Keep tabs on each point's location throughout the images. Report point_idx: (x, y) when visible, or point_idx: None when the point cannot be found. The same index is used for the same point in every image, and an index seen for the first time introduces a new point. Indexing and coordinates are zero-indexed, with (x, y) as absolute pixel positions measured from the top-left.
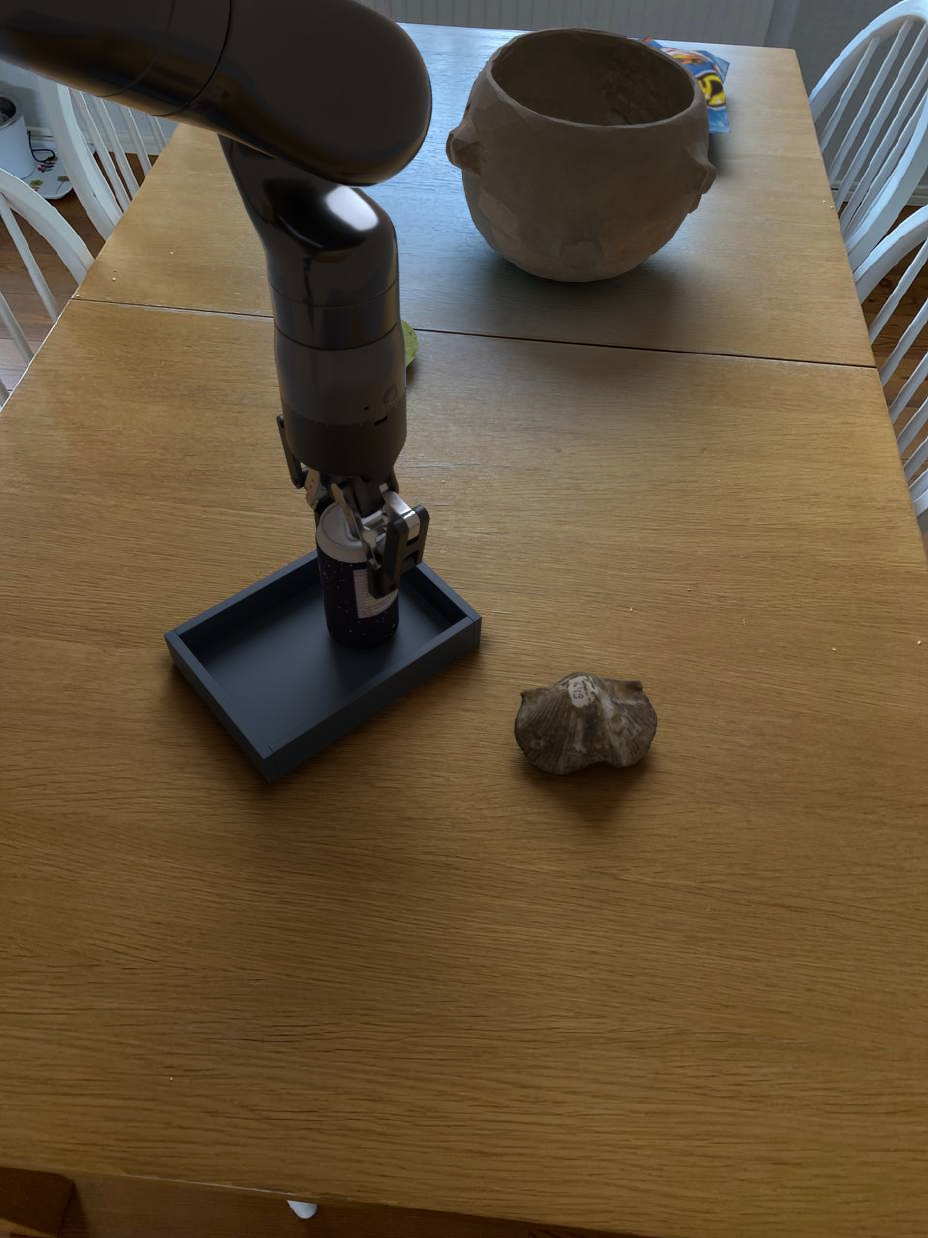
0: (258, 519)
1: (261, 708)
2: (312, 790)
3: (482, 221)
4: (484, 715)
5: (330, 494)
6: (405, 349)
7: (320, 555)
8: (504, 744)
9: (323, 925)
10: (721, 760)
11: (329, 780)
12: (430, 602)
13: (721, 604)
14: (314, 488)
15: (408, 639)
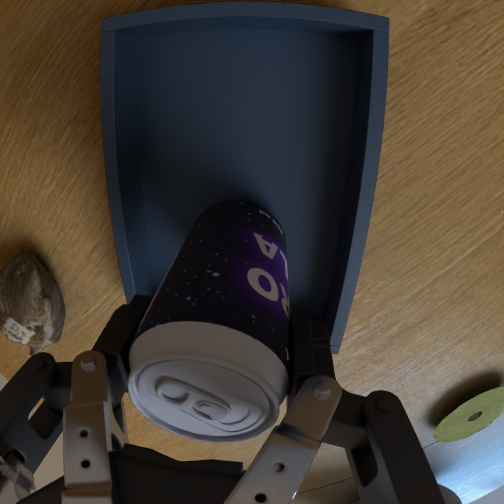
0: (458, 251)
1: (217, 63)
2: (98, 64)
3: None
4: (83, 255)
5: (223, 468)
6: (443, 434)
7: (217, 305)
8: (55, 248)
9: (11, 29)
10: None
11: (97, 85)
12: None
13: None
14: (257, 474)
15: None
